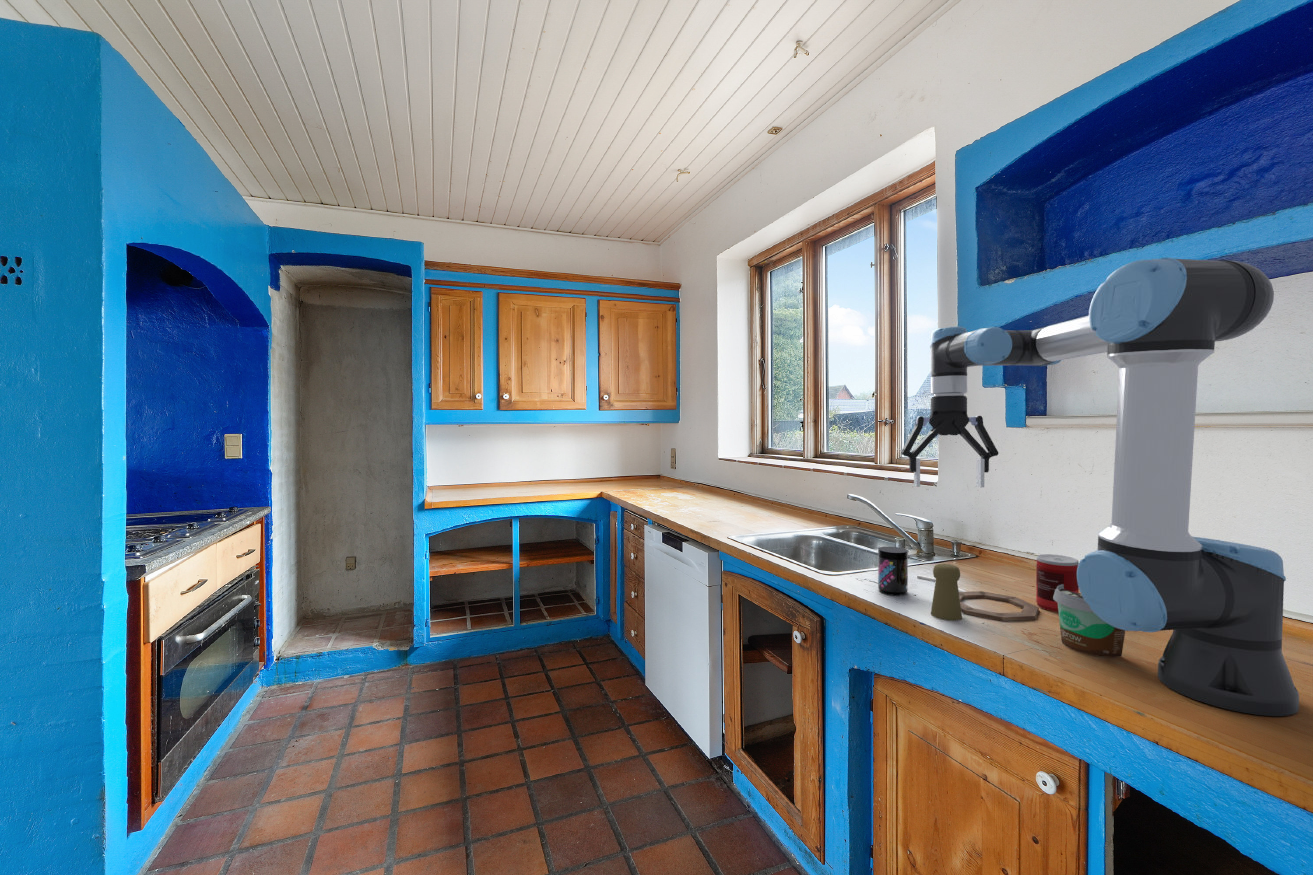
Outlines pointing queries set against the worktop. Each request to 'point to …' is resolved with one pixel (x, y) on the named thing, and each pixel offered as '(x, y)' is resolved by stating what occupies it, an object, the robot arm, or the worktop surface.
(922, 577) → the lace cord
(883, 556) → the supplement container
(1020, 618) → the ring
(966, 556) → the worktop surface
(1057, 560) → the canned food
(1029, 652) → the worktop surface
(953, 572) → the olive green pawn
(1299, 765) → the worktop surface
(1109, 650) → the food container
